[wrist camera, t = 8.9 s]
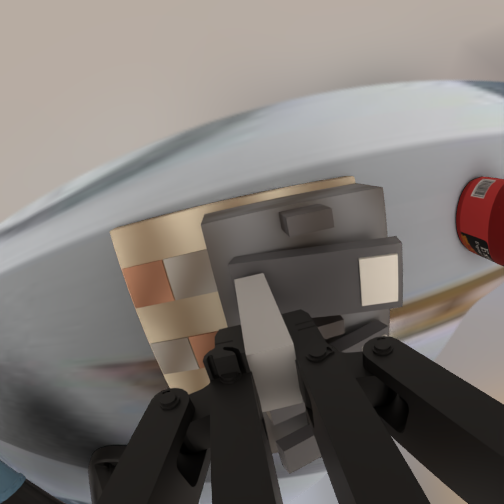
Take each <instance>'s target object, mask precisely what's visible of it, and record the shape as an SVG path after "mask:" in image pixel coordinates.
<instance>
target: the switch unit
mask: <svg viewBox="0 0 504 504" xmlns="http://www.w3.org/2000/svg"><path fill="white" fill-rule="evenodd" d="M110 234H111V238H112V241H113V245H114V248H115V251H116V254H117V257H118V261H119V264H120V267H121V270H122V273H123V276H124V279H125V282H126V284H127V287H128V290H129V293H130V296H131V298H132V301H133V304H134V306H135V309H136V312H137V314H138V317H139V319H140V322H141V324H142V327H143V329H144V332H145V334H146V337H147V339H148V341H149V344H150V346H151V348H152V351H153V353H154V355H155V357H156V360H157V362H158V364H159V366H160V368H161V371H162V373H163V375H164V377H165V379H166V381H167V383H168V385H169V387H170V388H180V389H183V390H185V391H186V392H187V393H188V394H191V393H194V392H196V391H199V390H201V389H203V388H204V387H206V386H207V385H208V384H209V383H210V379H209V377H208V374H207V371H206V369H205V366H204V363H203V358H204V356H205V355H206V354H207V353H208V352H209V351H210V350H212V349H214V348H215V335H216V334H217V332H218V331H219V329H223V328H227V327H232V326H237V325H241V321H240V315H239V308H238V304H237V300H236V296H235V292H234V288H233V284H232V280H231V276H230V272H229V267H228V264H229V263H230V261H231V260H232V259H233V257H237V256H245V255H253V254H260V253H268V252H276V251H284V250H292V249H300V248H308V247H315V246H323V245H331V244H339V243H347V242H354V241H362V240H370V239H377V238H385V237H387V224H386V213H385V203H384V194H383V187H377V186H370V185H364V184H357V183H355V178H354V176H344V177H338V178H333V179H327V180H321V181H316V182H310V183H305V184H299V185H294V186H289V187H284V188H279V189H274V190H269V191H264V192H259V193H255V194H250V195H245V196H241V197H236V198H232V199H227V200H223V201H218V202H214V203H210V204H205V205H201V206H197V207H193V208H189V209H185V210H181V211H177V212H173V213H169V214H165V215H161V216H157V217H154V218H150V219H146V220H142V221H139V222H135V223H131V224H128V225H124V226H121V227H117V228H114V229H113V230H111V231H110ZM312 319H313V321H314V323H315V324H316V326H317V328H318V329H319V331H320V333H321V334H322V336H323V338H324V339H325V341H326V343H327V344H330V343H332V342H334V341H336V340H338V339H340V338H342V337H344V336H346V335H348V334H350V333H352V332H354V331H356V330H358V329H360V328H362V327H364V326H365V325H367V324H369V323H371V322H373V321H375V320H379V321H381V322H382V323H384V324H386V325H387V326H388V337H389V321H390V309H383V310H376V311H368V312H360V313H352V314H343V315H334V316H325V317H315V318H312ZM262 413H263V417H264V420H265V424H266V428H267V433H268V438H269V443H270V447H271V452H272V454H273V453H277V452H278V448H277V445H276V441H277V440H279V439H281V438H283V437H285V436H287V435H289V434H291V433H292V432H294V431H296V430H298V429H300V428H302V427H304V426H305V425H307V424H308V423H307V416H306V411H305V412H303V413H301V414H299V415H296V416H294V417H292V418H290V419H287V420H285V421H283V422H281V423H278V424H276V425H273V423H272V421H271V420H270V418H269V417H268V415H267V413H266V412H262ZM321 457H322V456H321Z"/></svg>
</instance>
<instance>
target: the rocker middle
mask: <svg viewBox="0 0 504 504" xmlns="http://www.w3.org/2000/svg"><path fill="white" fill-rule="evenodd" d="M381 336H387V337H388V326H387V325H386V324H384V323H382V322H381V321H379V320H375V321H373V322H371V323H369V324H367V325H365V326H364V327H362V328H360V329H358V330H356V331H354V332H352V333H350V334H348V335H346V336H344V337H342V338H340V339H338V340H336V341H334V342H332V343H330V345H333V346H334V347H335V348H336V349H337V350H338V351H339V352H344V353H349V352H360V351H363V346H364V344H365V343H366V342H368V341H369V340H370V339H373V338H375V337H381ZM302 399H303V397H302ZM305 411H306V409H305V403H304V400H303V402H302V403H299V404H295V405H291V406H287V407H283V408H279V409H275V410H271V411H266V413H267V415H268V417H269V418H270V420H271V421H272V423H273V425H276V424H278V423H281V422H283V421H285V420H287V419H290V418H292V417H294V416H296V415H299V414H301V413H303V412H305Z"/></svg>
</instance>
